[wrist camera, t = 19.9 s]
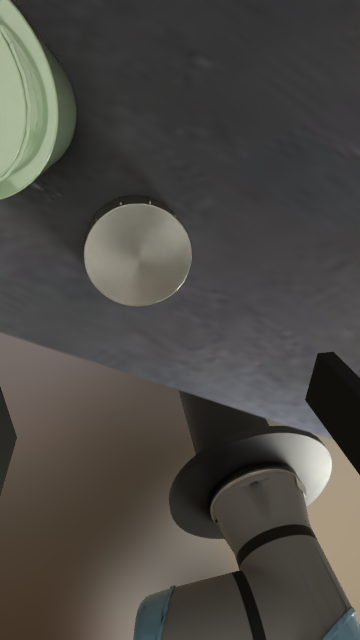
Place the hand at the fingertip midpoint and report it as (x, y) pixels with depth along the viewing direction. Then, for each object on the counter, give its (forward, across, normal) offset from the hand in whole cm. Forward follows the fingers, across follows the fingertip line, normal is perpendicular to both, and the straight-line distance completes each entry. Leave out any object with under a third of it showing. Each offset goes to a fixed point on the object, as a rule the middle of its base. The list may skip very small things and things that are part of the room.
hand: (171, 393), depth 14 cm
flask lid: (+16, 0, +1) cm, 16 cm away
